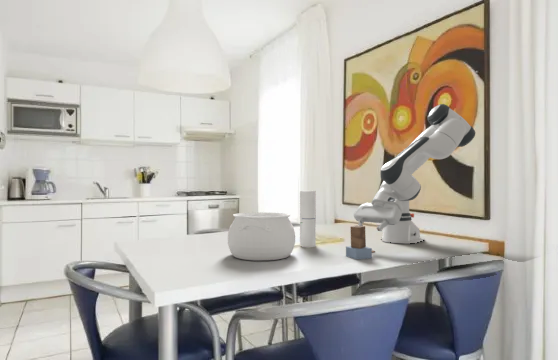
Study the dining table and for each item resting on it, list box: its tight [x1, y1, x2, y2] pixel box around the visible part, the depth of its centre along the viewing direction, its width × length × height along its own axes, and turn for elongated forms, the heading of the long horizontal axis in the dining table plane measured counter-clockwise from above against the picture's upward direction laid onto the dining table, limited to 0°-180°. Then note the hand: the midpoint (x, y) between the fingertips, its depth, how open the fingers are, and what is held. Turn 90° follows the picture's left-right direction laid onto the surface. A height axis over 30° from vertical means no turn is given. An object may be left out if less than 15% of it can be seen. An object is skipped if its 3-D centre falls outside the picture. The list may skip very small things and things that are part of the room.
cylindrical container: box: [299, 190, 317, 248], centre depth 170 cm, size 7×7×25 cm
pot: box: [227, 212, 296, 262], centre depth 147 cm, size 29×26×16 cm
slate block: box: [345, 245, 373, 260], centre depth 144 cm, size 7×7×4 cm
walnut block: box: [350, 224, 367, 249], centre depth 144 cm, size 4×4×8 cm
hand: (368, 229), depth 151 cm, fingers open, 8 cm apart
